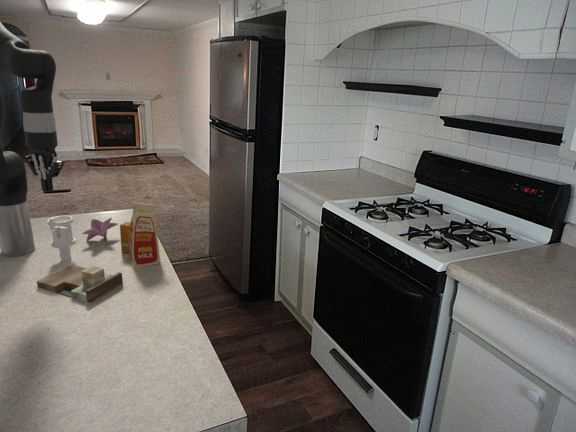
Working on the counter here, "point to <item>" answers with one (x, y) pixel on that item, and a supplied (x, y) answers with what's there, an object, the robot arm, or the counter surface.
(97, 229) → the lily
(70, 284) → the trap track
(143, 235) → the milk carton
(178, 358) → the counter surface
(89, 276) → the maple block
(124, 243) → the supplement box
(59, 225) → the white tall cylindrical piece
